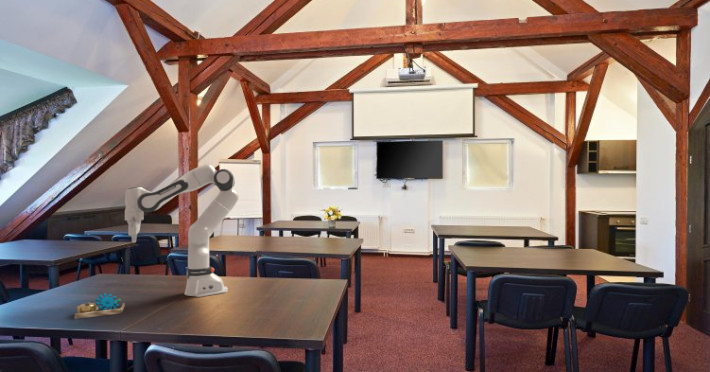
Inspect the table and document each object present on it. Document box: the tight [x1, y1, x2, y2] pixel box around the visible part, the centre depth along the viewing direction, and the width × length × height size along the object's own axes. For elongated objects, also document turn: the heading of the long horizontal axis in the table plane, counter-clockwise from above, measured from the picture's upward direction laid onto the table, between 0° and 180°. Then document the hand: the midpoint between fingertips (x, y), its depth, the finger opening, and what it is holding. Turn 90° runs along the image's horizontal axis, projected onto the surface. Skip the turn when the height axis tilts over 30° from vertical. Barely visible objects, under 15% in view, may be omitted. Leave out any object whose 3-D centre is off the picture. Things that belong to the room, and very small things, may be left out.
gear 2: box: [95, 293, 121, 311], centre depth 178 cm, size 11×6×10 cm
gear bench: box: [74, 302, 126, 320], centre depth 175 cm, size 18×12×2 cm
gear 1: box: [76, 301, 98, 313], centre depth 173 cm, size 7×7×4 cm
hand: (134, 242), depth 202 cm, fingers closed
